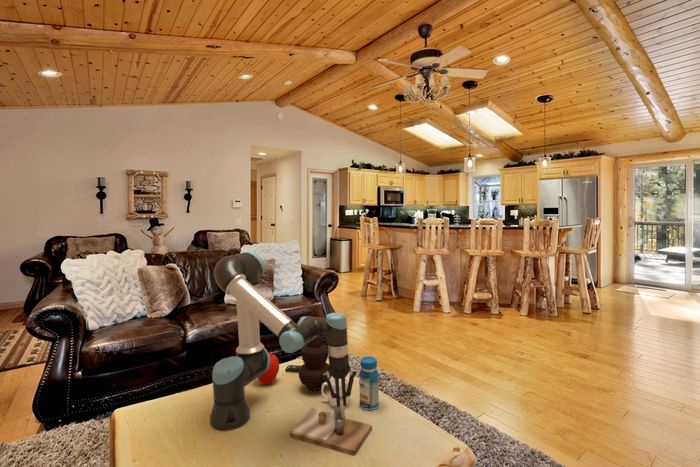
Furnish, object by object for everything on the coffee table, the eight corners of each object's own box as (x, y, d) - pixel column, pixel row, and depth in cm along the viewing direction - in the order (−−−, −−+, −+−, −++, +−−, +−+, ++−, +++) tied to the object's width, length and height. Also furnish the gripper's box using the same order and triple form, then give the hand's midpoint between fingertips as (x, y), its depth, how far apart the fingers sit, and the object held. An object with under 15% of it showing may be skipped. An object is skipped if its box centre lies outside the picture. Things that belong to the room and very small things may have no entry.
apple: (272, 374, 190) (271, 348, 188) (284, 382, 181) (283, 355, 179) (250, 381, 182) (249, 354, 181) (261, 391, 173) (260, 362, 172)
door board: (289, 436, 140) (289, 419, 139) (311, 413, 154) (311, 398, 153) (354, 455, 129) (354, 437, 128) (371, 429, 143) (371, 412, 143)
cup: (346, 409, 157) (346, 386, 156) (318, 407, 159) (318, 383, 158) (350, 399, 165) (350, 376, 164) (324, 396, 167) (323, 374, 166)
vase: (296, 383, 180) (294, 321, 177) (327, 378, 184) (326, 317, 182) (301, 399, 165) (299, 332, 162) (336, 393, 170) (334, 328, 167)
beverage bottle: (380, 410, 156) (379, 363, 154) (359, 411, 155) (358, 364, 154) (378, 399, 164) (378, 355, 162) (358, 400, 164) (358, 355, 162)
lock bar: (344, 434, 137) (344, 421, 137) (335, 435, 137) (335, 422, 136) (340, 415, 149) (340, 403, 149) (332, 416, 149) (332, 404, 148)
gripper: (322, 360, 139) (326, 421, 141) (356, 356, 141) (360, 417, 143) (321, 352, 146) (324, 410, 149) (353, 348, 148) (356, 406, 150)
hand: (342, 413), depth 146 cm, fingers closed
